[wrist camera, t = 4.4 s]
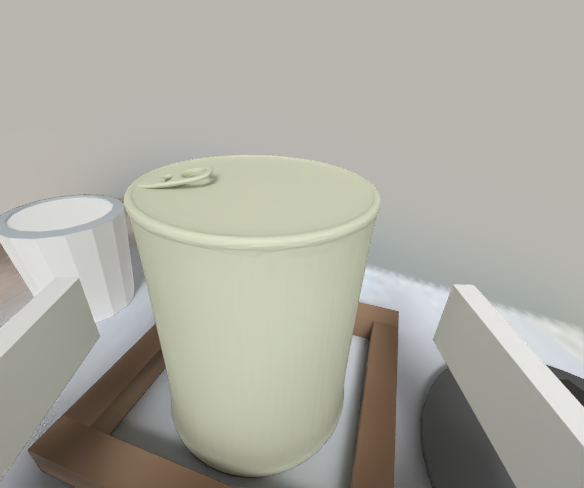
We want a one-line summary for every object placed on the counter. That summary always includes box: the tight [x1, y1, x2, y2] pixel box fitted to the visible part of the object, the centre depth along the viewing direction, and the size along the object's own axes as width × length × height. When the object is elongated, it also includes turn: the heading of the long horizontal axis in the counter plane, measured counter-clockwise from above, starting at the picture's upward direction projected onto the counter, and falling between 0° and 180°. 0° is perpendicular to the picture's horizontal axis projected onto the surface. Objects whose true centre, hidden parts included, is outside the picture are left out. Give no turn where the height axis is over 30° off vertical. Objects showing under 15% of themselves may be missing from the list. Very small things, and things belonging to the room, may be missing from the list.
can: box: [124, 155, 381, 477], centre depth 14 cm, size 9×9×12 cm
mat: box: [421, 365, 584, 488], centre depth 13 cm, size 13×13×1 cm
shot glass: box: [0, 194, 135, 323], centre depth 21 cm, size 7×7×7 cm
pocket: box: [28, 302, 399, 488], centre depth 17 cm, size 14×14×2 cm
